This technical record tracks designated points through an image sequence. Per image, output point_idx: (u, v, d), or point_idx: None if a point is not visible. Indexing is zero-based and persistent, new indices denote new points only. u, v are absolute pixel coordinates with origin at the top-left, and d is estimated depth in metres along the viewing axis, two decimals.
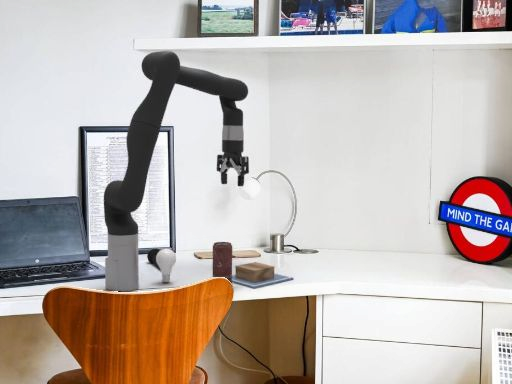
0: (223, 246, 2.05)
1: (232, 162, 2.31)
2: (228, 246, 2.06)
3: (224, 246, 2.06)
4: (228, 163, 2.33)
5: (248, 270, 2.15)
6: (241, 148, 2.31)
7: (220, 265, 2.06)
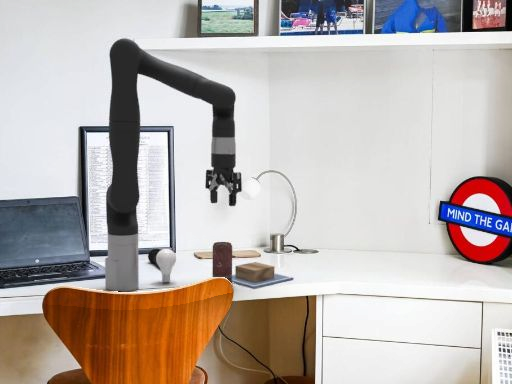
0: (223, 246, 2.05)
1: (223, 179, 2.03)
2: (228, 246, 2.06)
3: (224, 246, 2.06)
4: (218, 180, 2.06)
5: (248, 270, 2.15)
6: (233, 163, 2.03)
7: (220, 265, 2.06)
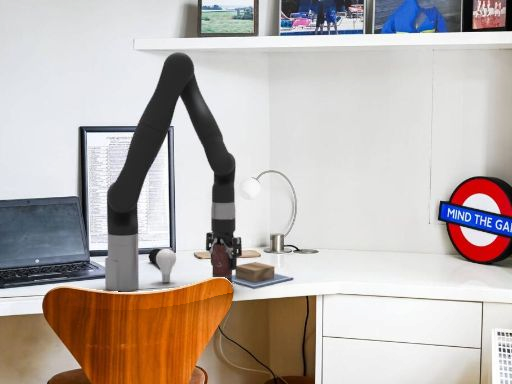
0: (223, 246, 2.05)
1: (223, 243, 2.06)
2: (228, 246, 2.06)
3: (224, 246, 2.06)
4: (218, 243, 2.08)
5: (248, 270, 2.15)
6: (233, 227, 2.06)
7: (220, 265, 2.06)
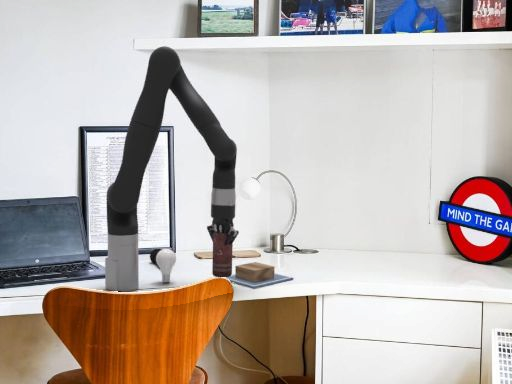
0: (224, 234, 2.05)
1: (220, 230, 2.05)
2: None
3: (225, 234, 2.05)
4: (217, 230, 2.07)
5: (248, 270, 2.15)
6: (232, 214, 2.05)
7: (221, 253, 2.05)
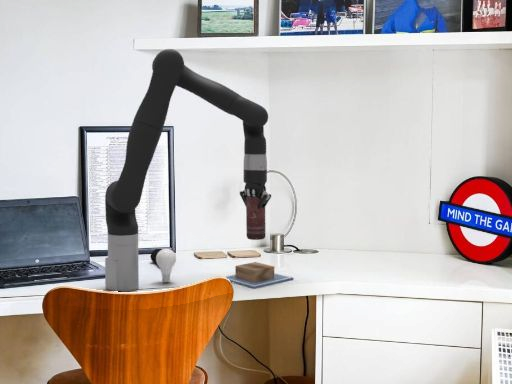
0: (257, 198, 2.13)
1: (253, 194, 2.14)
2: (261, 198, 2.14)
3: (258, 198, 2.13)
4: None
5: (248, 270, 2.15)
6: (264, 178, 2.13)
7: (255, 216, 2.14)
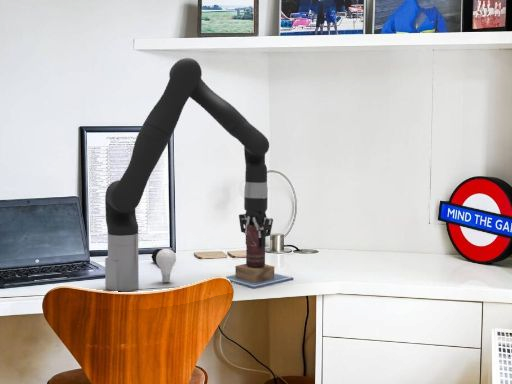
0: None
1: (255, 222, 2.15)
2: (262, 226, 2.16)
3: None
4: (251, 222, 2.17)
5: (248, 270, 2.15)
6: (265, 206, 2.15)
7: (255, 244, 2.15)
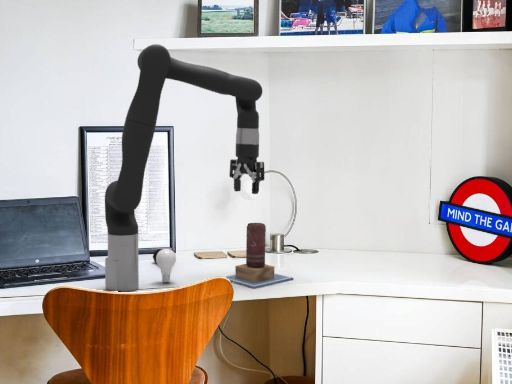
0: (257, 226, 2.15)
1: (246, 168, 2.14)
2: (262, 226, 2.16)
3: (258, 226, 2.15)
4: (242, 169, 2.17)
5: (248, 270, 2.15)
6: (256, 153, 2.14)
7: (255, 244, 2.15)
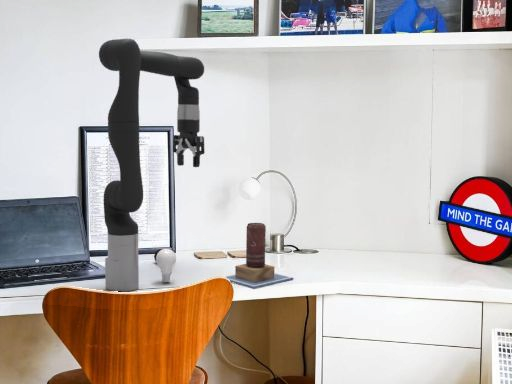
0: (257, 226, 2.15)
1: (187, 142, 2.24)
2: (262, 226, 2.16)
3: (258, 226, 2.15)
4: (184, 143, 2.27)
5: (248, 270, 2.15)
6: (197, 128, 2.24)
7: (255, 244, 2.15)
